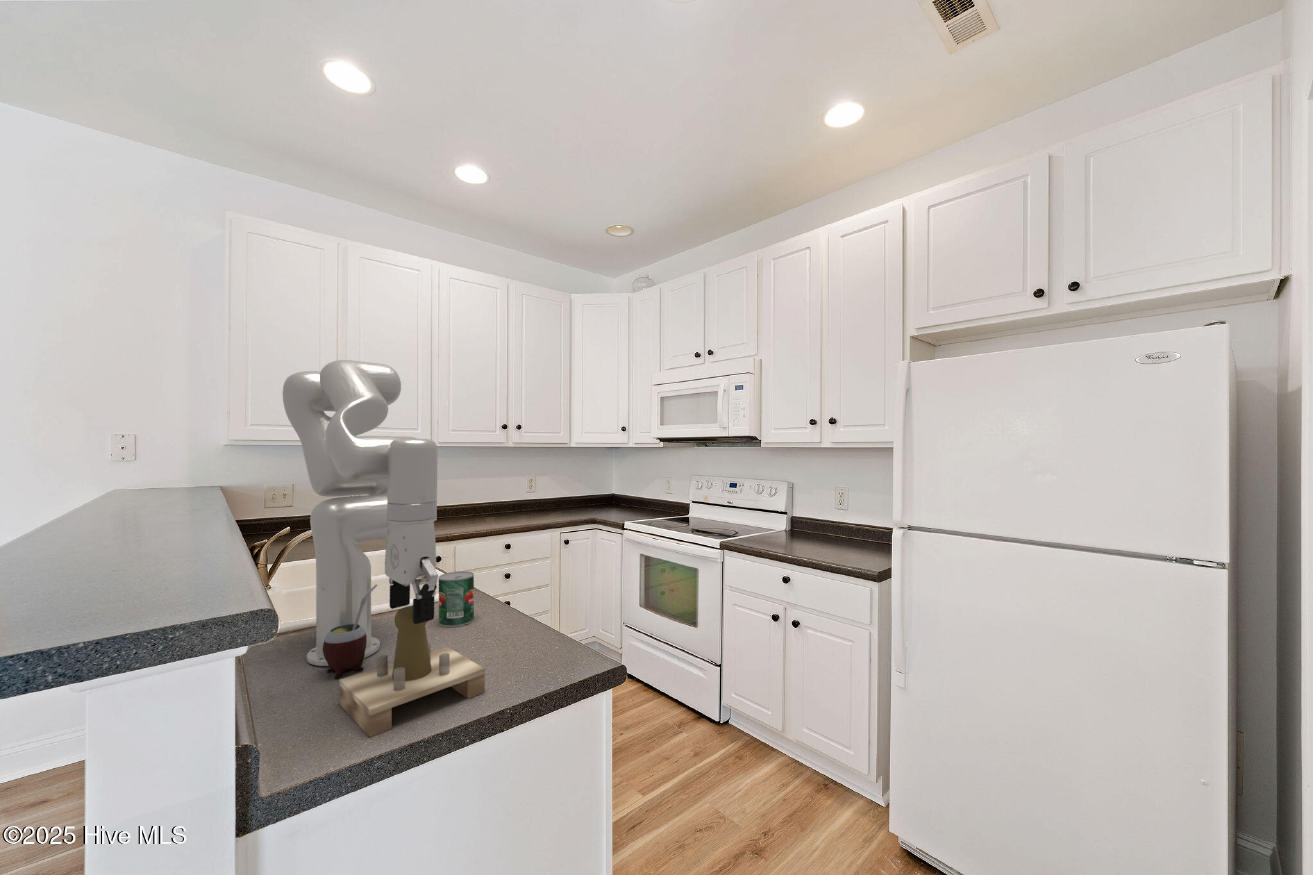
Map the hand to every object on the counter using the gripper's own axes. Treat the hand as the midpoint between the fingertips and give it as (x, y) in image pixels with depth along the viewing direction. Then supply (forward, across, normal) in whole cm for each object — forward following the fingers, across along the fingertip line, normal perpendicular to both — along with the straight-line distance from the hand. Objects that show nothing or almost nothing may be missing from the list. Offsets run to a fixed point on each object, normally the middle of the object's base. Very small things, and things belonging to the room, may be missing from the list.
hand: (411, 613), depth 86 cm
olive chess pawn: (+10, 0, 0) cm, 10 cm away
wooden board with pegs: (+14, +1, 0) cm, 14 cm away
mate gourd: (+15, -19, -4) cm, 24 cm away
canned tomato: (+15, -29, +22) cm, 39 cm away
